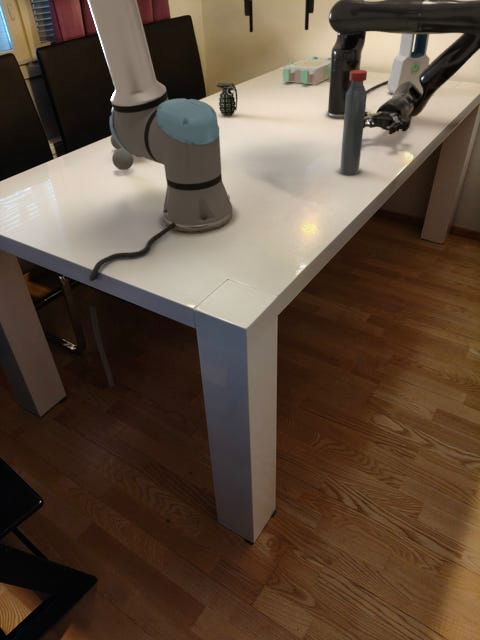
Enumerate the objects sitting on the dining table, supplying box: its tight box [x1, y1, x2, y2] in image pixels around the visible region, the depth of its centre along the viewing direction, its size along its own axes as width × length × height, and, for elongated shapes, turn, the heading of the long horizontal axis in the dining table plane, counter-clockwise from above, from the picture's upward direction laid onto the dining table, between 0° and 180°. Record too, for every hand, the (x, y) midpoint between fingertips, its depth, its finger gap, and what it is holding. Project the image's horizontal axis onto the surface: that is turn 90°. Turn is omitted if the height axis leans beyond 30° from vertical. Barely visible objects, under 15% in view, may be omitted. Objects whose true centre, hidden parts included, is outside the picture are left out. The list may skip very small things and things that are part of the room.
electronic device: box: [387, 34, 430, 95], centre depth 173 cm, size 12×8×30 cm, turn 105°
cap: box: [349, 69, 368, 82], centre depth 111 cm, size 4×4×2 cm
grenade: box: [215, 82, 238, 117], centre depth 166 cm, size 7×6×10 cm
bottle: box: [339, 81, 368, 176], centre depth 117 cm, size 5×5×23 cm
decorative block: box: [282, 56, 331, 85], centre depth 205 cm, size 26×6×20 cm
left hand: (278, 30), depth 120 cm, fingers open, 13 cm apart
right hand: (374, 128), depth 130 cm, fingers open, 8 cm apart
